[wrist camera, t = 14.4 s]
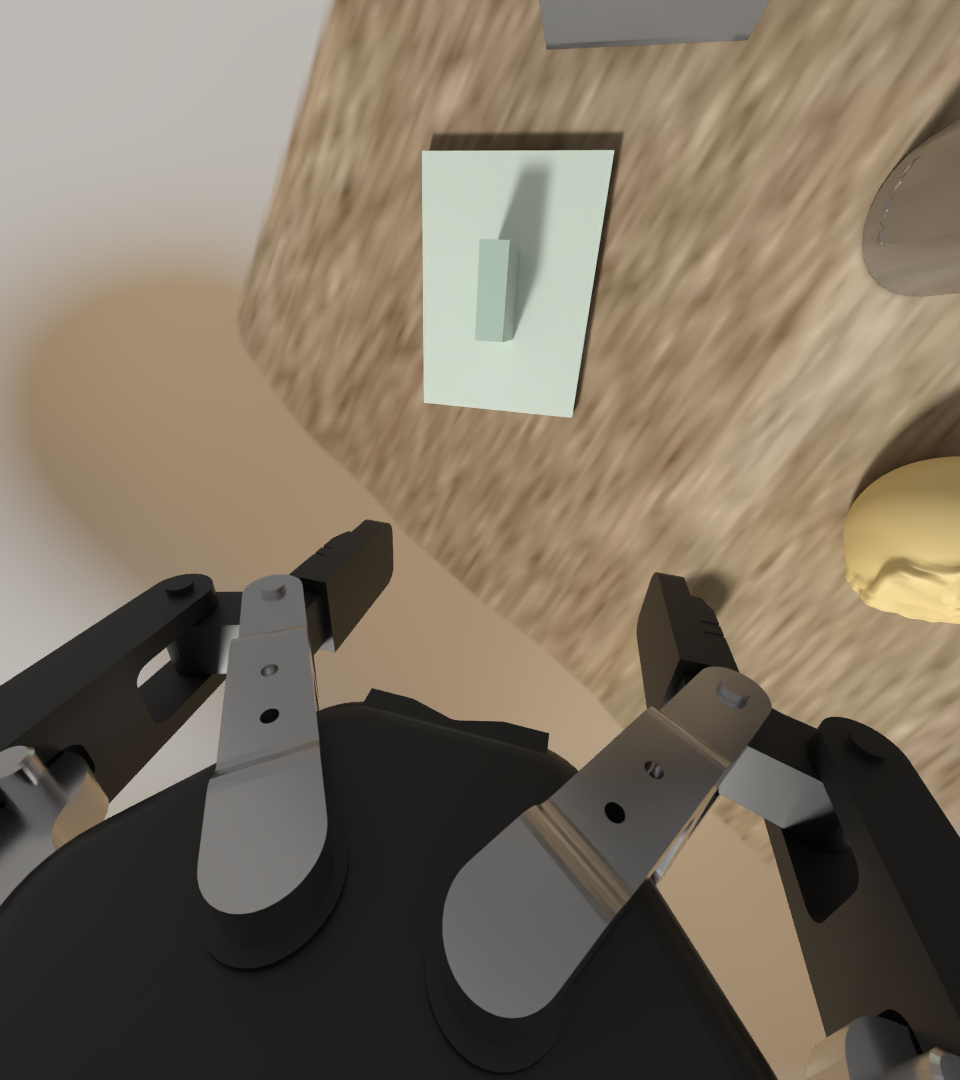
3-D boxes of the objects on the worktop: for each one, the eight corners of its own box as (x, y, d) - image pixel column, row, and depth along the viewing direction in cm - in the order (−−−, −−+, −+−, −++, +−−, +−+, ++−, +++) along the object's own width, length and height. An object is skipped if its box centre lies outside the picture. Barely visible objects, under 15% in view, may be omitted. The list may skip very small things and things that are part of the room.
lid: (613, 158, 29) (619, 118, 23) (572, 414, 37) (570, 431, 31) (429, 158, 31) (394, 121, 25) (429, 399, 39) (403, 413, 34)
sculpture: (801, 568, 39) (869, 646, 29) (855, 439, 33) (960, 485, 24) (949, 583, 36) (1074, 673, 27) (1033, 447, 31) (1228, 502, 21)
